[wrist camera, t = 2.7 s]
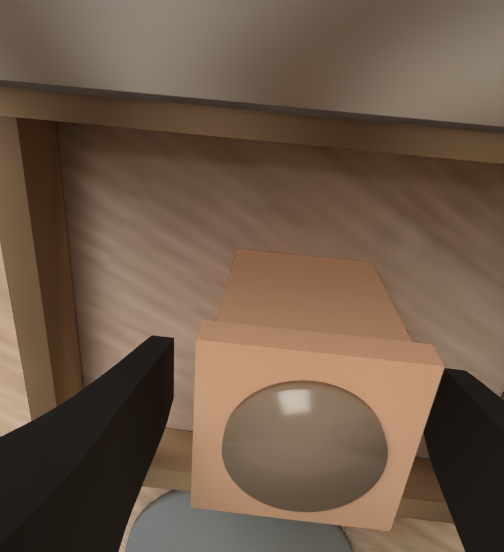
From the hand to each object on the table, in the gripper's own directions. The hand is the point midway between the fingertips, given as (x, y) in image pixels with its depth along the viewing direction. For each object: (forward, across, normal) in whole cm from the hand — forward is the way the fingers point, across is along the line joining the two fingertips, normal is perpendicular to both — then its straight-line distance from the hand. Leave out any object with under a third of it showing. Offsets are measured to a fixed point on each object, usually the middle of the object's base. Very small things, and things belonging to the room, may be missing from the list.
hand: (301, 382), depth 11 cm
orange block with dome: (+4, 0, 0) cm, 4 cm away
